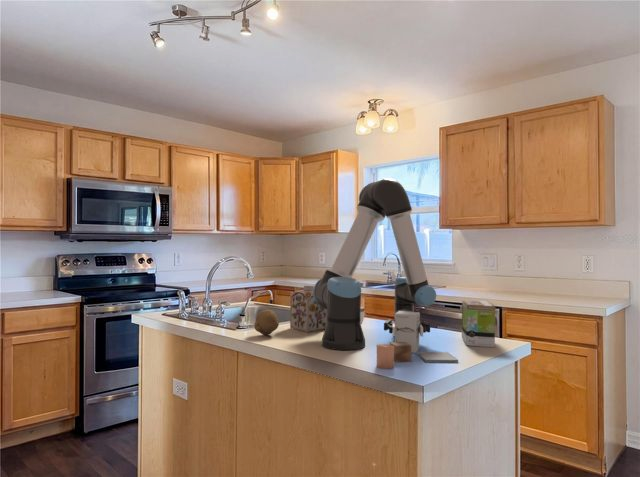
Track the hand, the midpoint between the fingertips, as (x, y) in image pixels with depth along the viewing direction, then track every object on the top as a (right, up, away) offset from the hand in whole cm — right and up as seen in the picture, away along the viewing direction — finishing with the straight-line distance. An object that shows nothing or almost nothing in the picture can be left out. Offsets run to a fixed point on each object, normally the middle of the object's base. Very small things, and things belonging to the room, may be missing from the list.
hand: (407, 331), depth 146 cm
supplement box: (+1, -7, +5) cm, 9 cm away
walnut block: (-4, -7, -9) cm, 12 cm away
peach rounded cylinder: (-10, -7, -17) cm, 21 cm away
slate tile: (+8, -7, -6) cm, 12 cm away
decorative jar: (-33, -7, +41) cm, 53 cm away
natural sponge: (-49, -7, +25) cm, 56 cm away
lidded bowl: (-16, -8, +42) cm, 46 cm away
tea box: (+29, -8, +18) cm, 35 cm away
